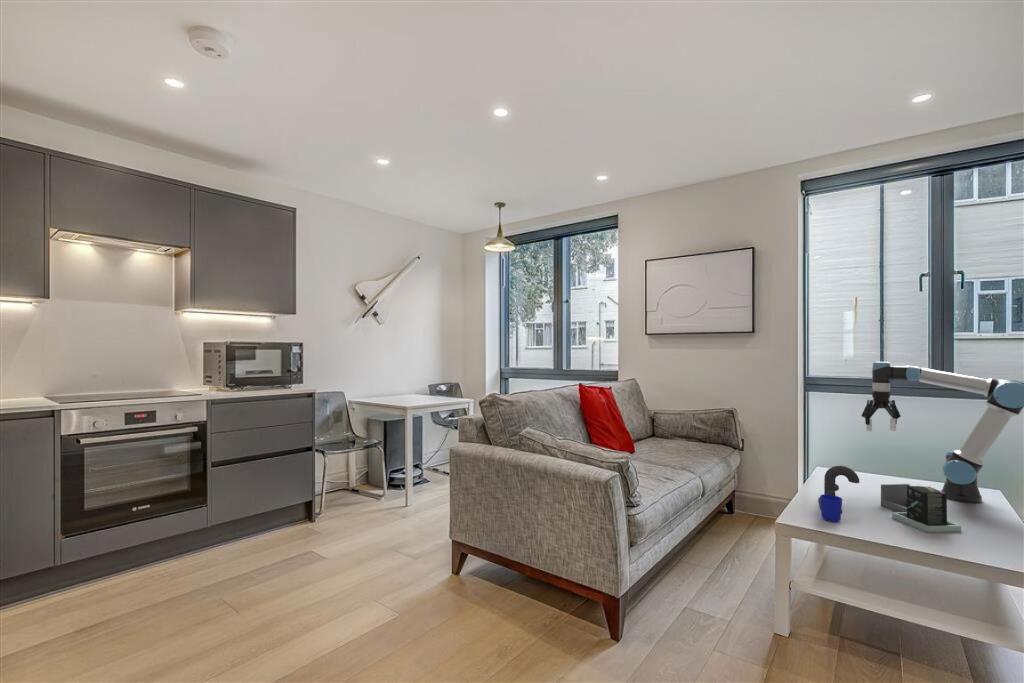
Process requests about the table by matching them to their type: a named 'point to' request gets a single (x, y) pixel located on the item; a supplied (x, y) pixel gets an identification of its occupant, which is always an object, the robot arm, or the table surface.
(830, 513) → the mug
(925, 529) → the tray
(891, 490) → the bay
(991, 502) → the table surface
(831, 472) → the faucet
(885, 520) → the table surface
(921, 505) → the dark grey box
